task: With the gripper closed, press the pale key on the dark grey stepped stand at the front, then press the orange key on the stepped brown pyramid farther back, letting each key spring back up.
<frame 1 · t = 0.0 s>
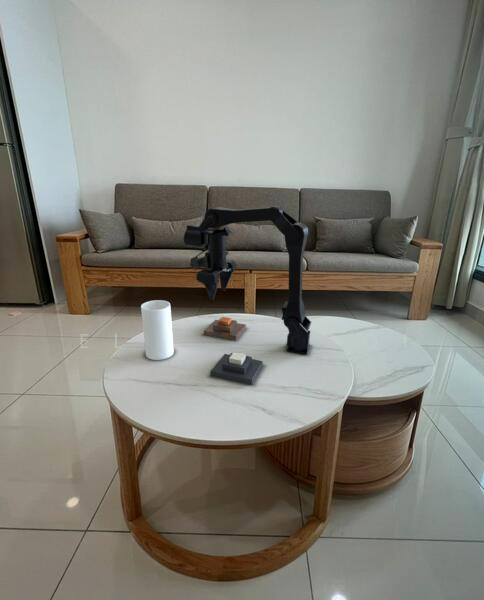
hand: (217, 295, 107), 15 cm above the table, tool pointing down, fingers open, 9 cm apart
stepped brown pyramid: (225, 331, 115), on the table
key front: (237, 358, 90), point 4 cm above the table, slide at 0.1 cm
key back: (225, 321, 113), point 4 cm above the table, slide at 0.1 cm
cup: (160, 353, 99), on the table
dark grey stepped stand: (237, 370, 91), on the table
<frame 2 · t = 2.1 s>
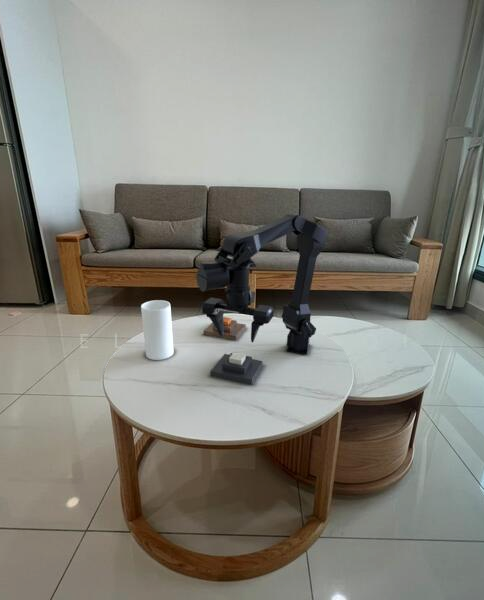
hand: (237, 338, 88), 10 cm above the table, tool pointing down, fingers open, 9 cm apart
nothing on the table moved.
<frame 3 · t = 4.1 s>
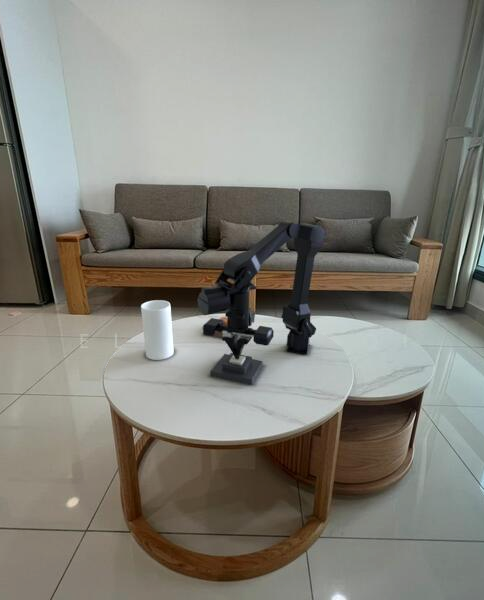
hand: (237, 358, 90), 4 cm above the table, tool pointing down, fingers closed, pressing on key front
key front: (237, 361, 90), point 3 cm above the table, slide at -0.7 cm, touching gripper
everything else where it was.
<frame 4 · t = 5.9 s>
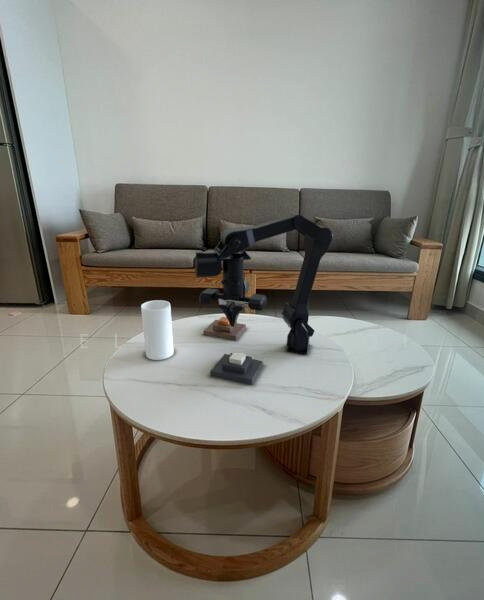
hand: (233, 326, 95), 10 cm above the table, tool pointing down, fingers closed
key front: (237, 358, 90), point 4 cm above the table, slide at 0.1 cm
everything else where it was.
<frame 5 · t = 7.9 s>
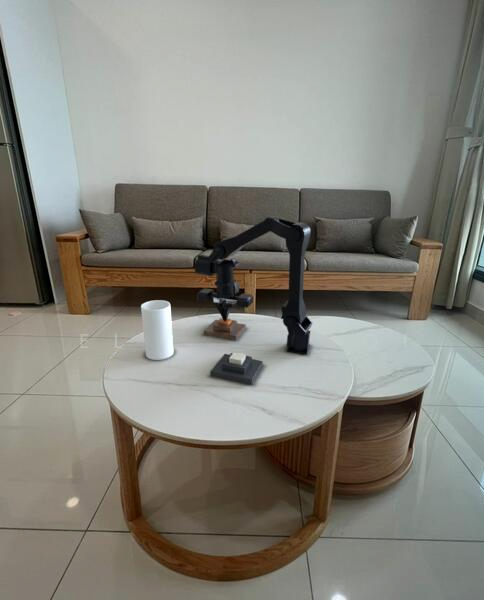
hand: (225, 320, 113), 4 cm above the table, tool pointing down, fingers closed, pressing on key back
key back: (225, 322, 113), point 4 cm above the table, slide at -0.3 cm, touching gripper
everything else where it was.
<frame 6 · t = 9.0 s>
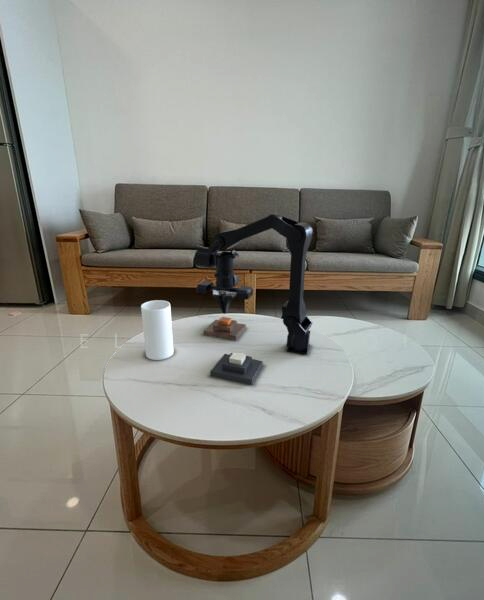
hand: (224, 313, 112), 7 cm above the table, tool pointing down, fingers closed
key back: (225, 321, 113), point 4 cm above the table, slide at 0.1 cm
everything else where it was.
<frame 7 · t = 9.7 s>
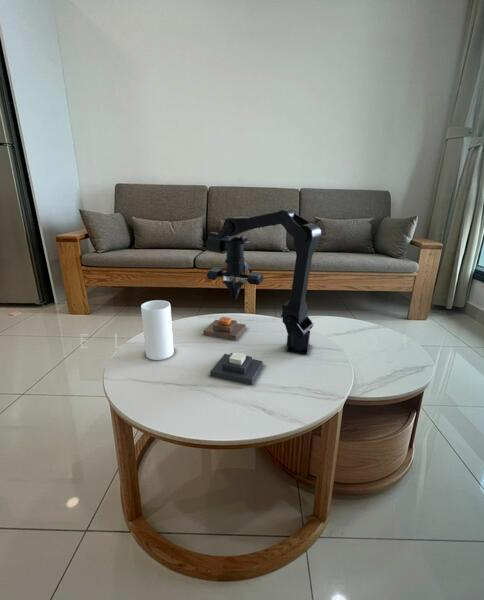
hand: (235, 299, 113), 12 cm above the table, tool pointing down, fingers closed
nothing on the table moved.
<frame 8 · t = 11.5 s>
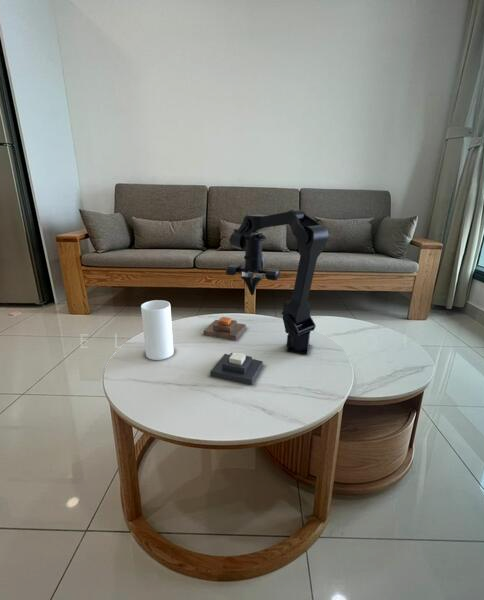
hand: (252, 294, 117), 12 cm above the table, tool pointing down, fingers closed
nothing on the table moved.
at the end: key front pushed in 1.1 cm at the most during the clip, back to where it started at the end; key back pushed in 1.1 cm at the most during the clip, back to where it started at the end; key back slide at 0.1 cm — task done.
